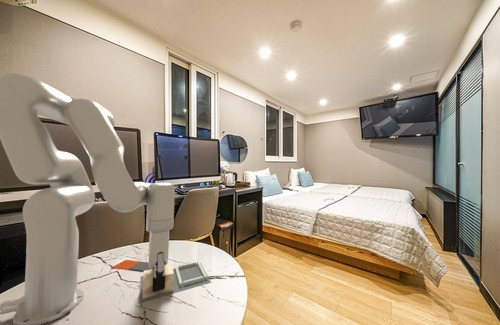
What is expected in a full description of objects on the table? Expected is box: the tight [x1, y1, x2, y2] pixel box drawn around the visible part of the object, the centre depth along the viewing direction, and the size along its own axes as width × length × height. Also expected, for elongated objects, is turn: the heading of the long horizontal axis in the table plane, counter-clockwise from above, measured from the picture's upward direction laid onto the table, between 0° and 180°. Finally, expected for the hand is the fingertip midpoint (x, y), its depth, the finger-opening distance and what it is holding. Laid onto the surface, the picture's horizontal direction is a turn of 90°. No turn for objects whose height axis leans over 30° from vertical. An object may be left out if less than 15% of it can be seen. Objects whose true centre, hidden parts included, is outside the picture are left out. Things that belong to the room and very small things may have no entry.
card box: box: [142, 264, 174, 299], centre depth 57 cm, size 8×6×5 cm
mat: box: [138, 260, 212, 304], centre depth 62 cm, size 20×14×2 cm
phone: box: [111, 259, 152, 273], centre depth 70 cm, size 6×1×15 cm
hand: (158, 283), depth 56 cm, fingers closed on card box, 5 cm apart
